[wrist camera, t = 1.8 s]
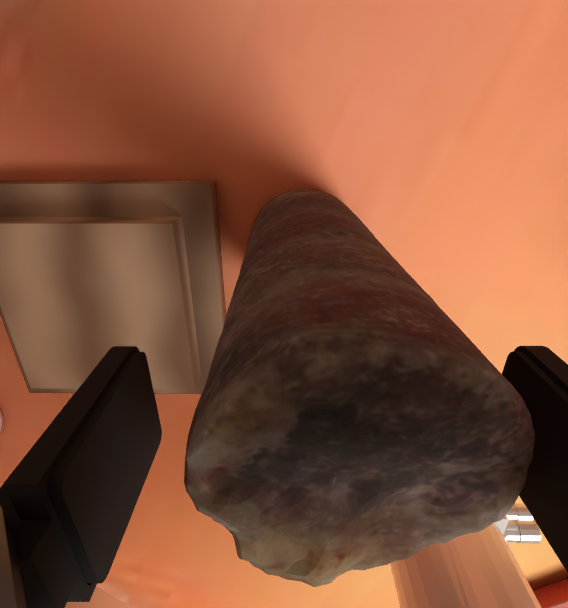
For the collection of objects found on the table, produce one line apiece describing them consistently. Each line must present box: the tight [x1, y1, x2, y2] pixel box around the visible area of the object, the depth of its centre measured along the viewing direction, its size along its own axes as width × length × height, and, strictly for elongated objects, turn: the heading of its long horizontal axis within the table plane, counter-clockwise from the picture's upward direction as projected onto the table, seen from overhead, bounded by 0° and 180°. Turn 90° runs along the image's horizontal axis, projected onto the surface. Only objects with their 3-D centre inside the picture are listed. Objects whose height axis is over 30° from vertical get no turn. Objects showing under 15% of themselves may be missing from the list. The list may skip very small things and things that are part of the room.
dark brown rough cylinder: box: [184, 189, 535, 587], centre depth 16 cm, size 8×7×20 cm
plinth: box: [0, 181, 226, 394], centre depth 25 cm, size 16×16×4 cm
